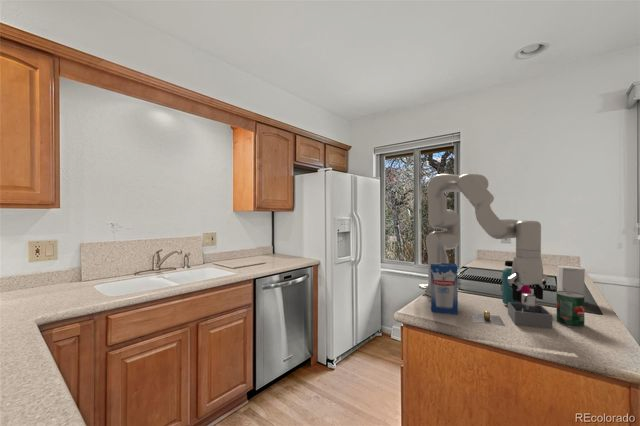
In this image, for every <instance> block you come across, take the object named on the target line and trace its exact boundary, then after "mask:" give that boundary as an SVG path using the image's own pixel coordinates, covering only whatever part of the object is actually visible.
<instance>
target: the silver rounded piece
mask: <svg viewBox="0 0 640 426" xmlns="http://www.w3.org/2000/svg"><path fill="white" fill-rule="evenodd" d="M536 299H537V298H536V296H535V295H534V293H531V294H529V293H522V310H517V311H521V312H531V313H537V312H536V305H537V303H536V301H537V300H536Z"/></svg>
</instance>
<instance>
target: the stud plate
mask: <svg viewBox="0 0 640 426" xmlns="http://www.w3.org/2000/svg"><path fill="white" fill-rule="evenodd" d="M470 315H471V318H472V321H473V323H477V324H478V323H479V324H484V325H485V324H486V325H493V326H494V325H496V326H501V327H502V326H506V325H505V323H504V321H503V320H502V318H501V316H500V315H495V314H494V315H492V314H491V312H490V311H487V310H485V311H483V313H476V312H475V313H474V312H470Z"/></svg>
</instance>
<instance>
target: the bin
mask: <svg viewBox="0 0 640 426" xmlns="http://www.w3.org/2000/svg"><path fill="white" fill-rule="evenodd" d="M517 310H522V303H513V302H508V305H507V315H508V316H509V318H510V320H511V321H512V322H513V324H514V325H515V326H522V327H532V328H540V329H541V328H542V329H548V330H550V329H551V330H553V314H552V313H551V312H550V311H549V310H547V308H545V307H544V306H543V305H542V304H536V312H537V313H531V312H521V311H517Z"/></svg>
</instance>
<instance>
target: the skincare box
mask: <svg viewBox="0 0 640 426" xmlns="http://www.w3.org/2000/svg"><path fill="white" fill-rule="evenodd" d="M556 267H557V272H556V273H557V278H556V279H557V280H556V281H557V282H556V289H557V290H556V292H557V291H570V292H576V293H580V294H582V295H584V296H585V278H586V276H585V268H583V267H580V266H572V265H561V264H560V265H559V264H558V265H557V266H556Z"/></svg>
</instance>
